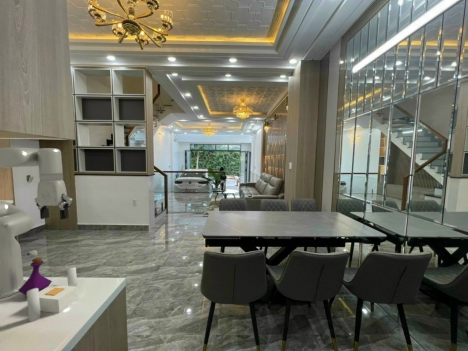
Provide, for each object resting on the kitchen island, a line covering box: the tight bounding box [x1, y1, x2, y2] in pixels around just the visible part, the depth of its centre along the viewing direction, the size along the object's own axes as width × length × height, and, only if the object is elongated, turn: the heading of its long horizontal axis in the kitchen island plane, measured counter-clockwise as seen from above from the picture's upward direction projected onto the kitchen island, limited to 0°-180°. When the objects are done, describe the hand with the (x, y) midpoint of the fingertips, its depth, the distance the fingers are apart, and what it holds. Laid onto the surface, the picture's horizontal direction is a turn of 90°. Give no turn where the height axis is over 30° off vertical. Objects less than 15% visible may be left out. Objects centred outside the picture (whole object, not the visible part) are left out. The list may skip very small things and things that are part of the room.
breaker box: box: [39, 284, 79, 314], centre depth 83 cm, size 12×8×5 cm, turn 81°
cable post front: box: [26, 288, 42, 322], centre depth 75 cm, size 3×3×10 cm
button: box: [45, 288, 64, 296], centre depth 83 cm, size 4×4×4 cm
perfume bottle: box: [18, 249, 53, 297], centre depth 90 cm, size 8×8×18 cm
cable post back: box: [66, 266, 78, 287], centre depth 90 cm, size 3×3×10 cm
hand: (54, 218), depth 92 cm, fingers open, 9 cm apart
